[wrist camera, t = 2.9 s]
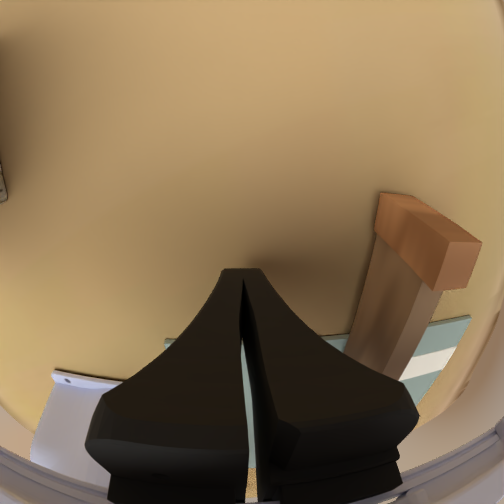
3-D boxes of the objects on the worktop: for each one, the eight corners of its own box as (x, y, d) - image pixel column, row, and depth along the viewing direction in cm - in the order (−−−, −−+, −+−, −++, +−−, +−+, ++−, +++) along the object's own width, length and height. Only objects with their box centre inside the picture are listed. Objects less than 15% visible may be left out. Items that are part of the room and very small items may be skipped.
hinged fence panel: (355, 372, 15) (378, 432, 11) (331, 376, 15) (351, 439, 11) (412, 195, 10) (482, 242, 6) (380, 192, 10) (449, 241, 6)
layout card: (202, 465, 23) (202, 468, 23) (165, 339, 14) (164, 344, 14) (380, 444, 25) (381, 447, 24) (469, 315, 15) (472, 318, 15)
